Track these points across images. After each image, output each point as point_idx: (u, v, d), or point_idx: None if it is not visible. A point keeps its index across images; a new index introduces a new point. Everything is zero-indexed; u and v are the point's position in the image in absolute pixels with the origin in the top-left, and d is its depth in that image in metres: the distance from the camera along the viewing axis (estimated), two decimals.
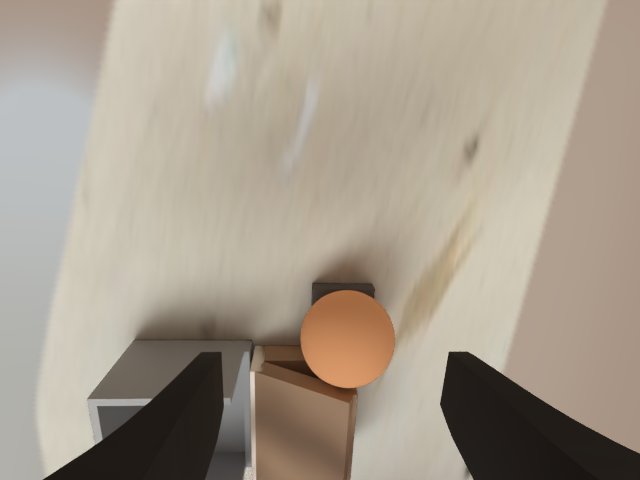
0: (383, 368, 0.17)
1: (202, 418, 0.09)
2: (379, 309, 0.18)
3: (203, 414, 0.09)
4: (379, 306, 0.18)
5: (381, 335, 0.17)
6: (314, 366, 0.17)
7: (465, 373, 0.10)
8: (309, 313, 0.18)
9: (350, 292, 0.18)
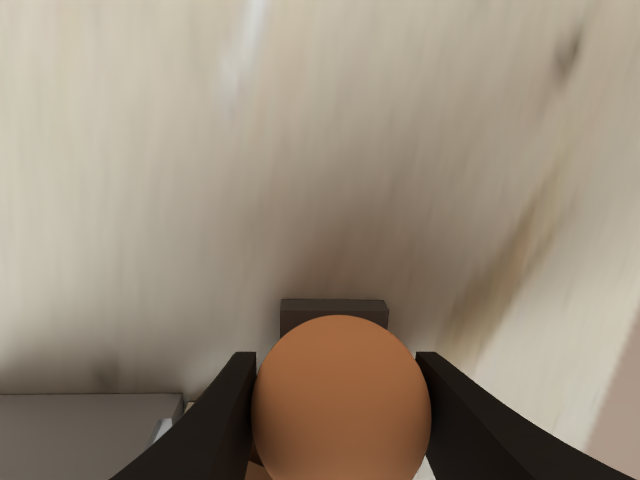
0: (411, 478, 0.09)
1: (244, 418, 0.09)
2: (402, 357, 0.09)
3: (244, 413, 0.09)
4: (401, 349, 0.09)
5: (409, 416, 0.08)
6: (272, 475, 0.09)
7: (429, 373, 0.10)
8: (266, 362, 0.10)
9: (345, 321, 0.10)
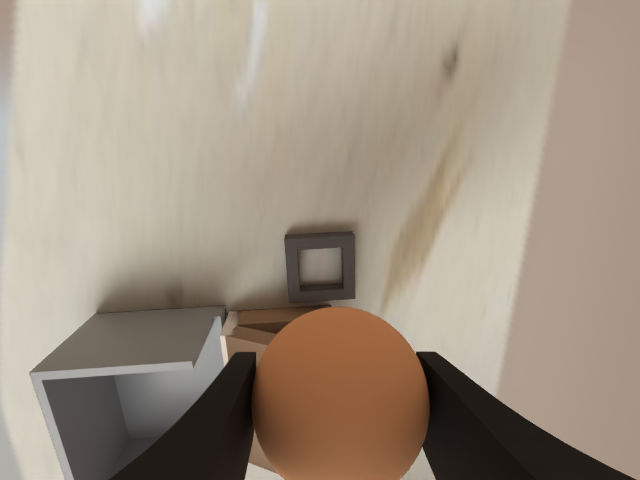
0: (408, 469, 0.09)
1: (244, 418, 0.09)
2: (401, 352, 0.09)
3: (244, 414, 0.09)
4: (401, 343, 0.09)
5: (407, 412, 0.08)
6: (272, 464, 0.09)
7: (429, 373, 0.10)
8: (266, 355, 0.10)
9: (345, 315, 0.10)
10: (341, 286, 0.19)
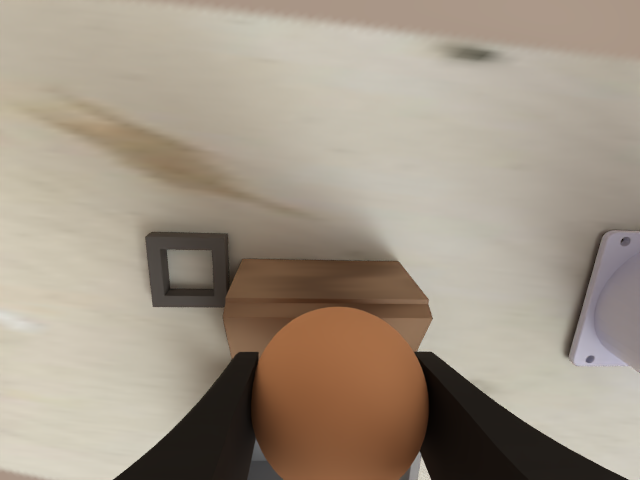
0: (408, 468, 0.09)
1: (246, 418, 0.09)
2: (400, 352, 0.09)
3: (247, 413, 0.09)
4: (400, 343, 0.09)
5: (406, 411, 0.08)
6: (271, 465, 0.09)
7: (425, 373, 0.10)
8: (265, 355, 0.10)
9: (344, 315, 0.10)
10: None
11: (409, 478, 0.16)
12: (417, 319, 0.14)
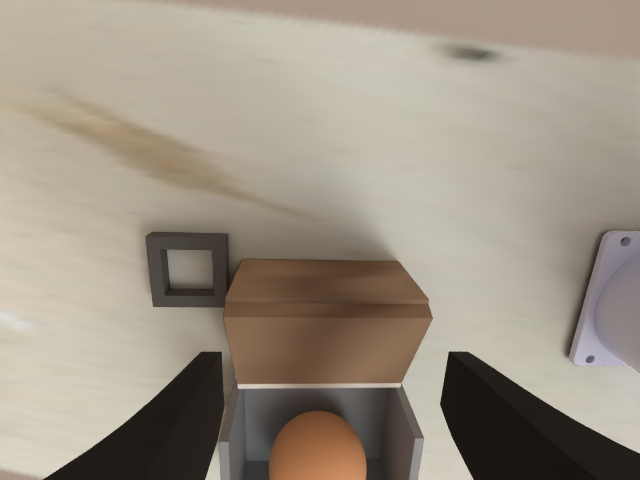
0: (350, 429, 0.18)
1: (202, 418, 0.09)
2: None
3: (203, 414, 0.09)
4: None
5: None
6: (283, 435, 0.18)
7: (465, 373, 0.10)
8: None
9: None
10: None
11: (409, 478, 0.16)
12: (417, 319, 0.14)
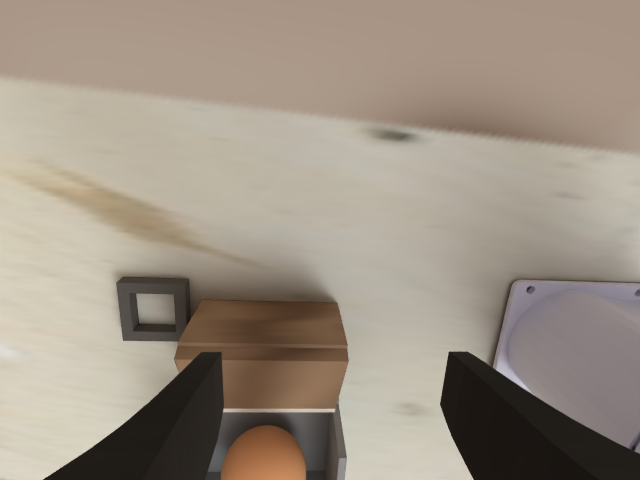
0: (292, 440, 0.21)
1: (202, 418, 0.09)
2: None
3: (203, 414, 0.09)
4: None
5: None
6: (234, 444, 0.21)
7: (465, 373, 0.10)
8: None
9: None
10: None
11: None
12: (336, 362, 0.17)
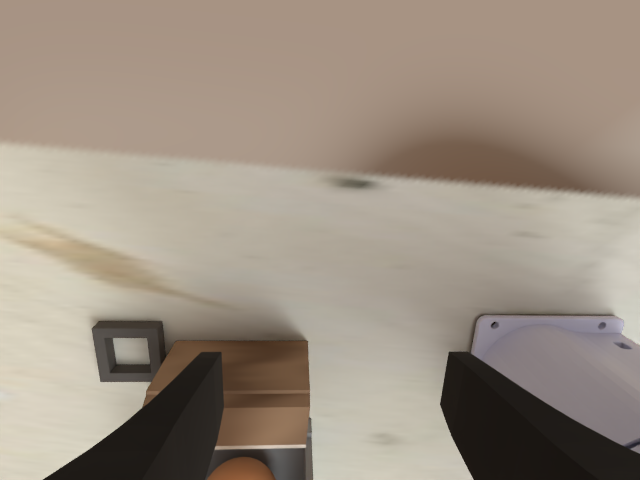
0: (266, 471, 0.22)
1: (202, 418, 0.09)
2: None
3: (203, 414, 0.09)
4: None
5: None
6: (210, 476, 0.22)
7: (465, 373, 0.10)
8: None
9: None
10: None
11: None
12: (298, 407, 0.17)
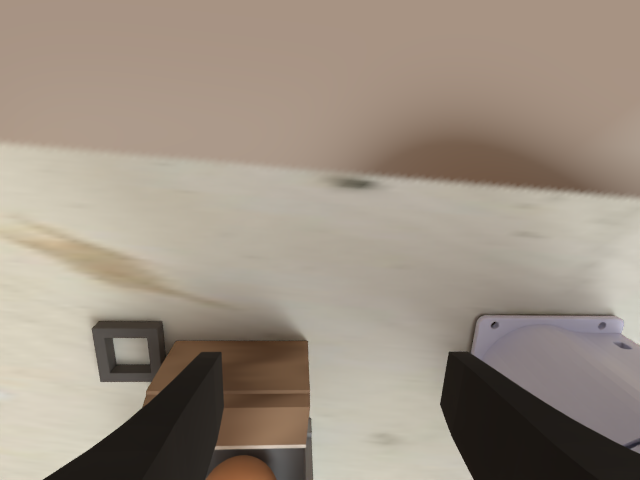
0: (266, 468, 0.22)
1: (202, 418, 0.09)
2: None
3: (203, 414, 0.09)
4: None
5: None
6: (210, 473, 0.22)
7: (465, 373, 0.10)
8: None
9: None
10: None
11: None
12: (298, 407, 0.17)
